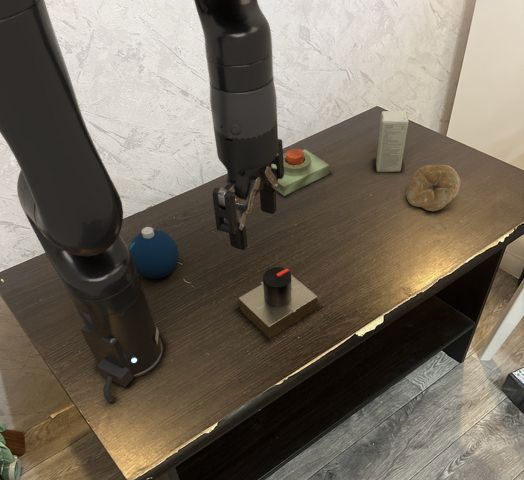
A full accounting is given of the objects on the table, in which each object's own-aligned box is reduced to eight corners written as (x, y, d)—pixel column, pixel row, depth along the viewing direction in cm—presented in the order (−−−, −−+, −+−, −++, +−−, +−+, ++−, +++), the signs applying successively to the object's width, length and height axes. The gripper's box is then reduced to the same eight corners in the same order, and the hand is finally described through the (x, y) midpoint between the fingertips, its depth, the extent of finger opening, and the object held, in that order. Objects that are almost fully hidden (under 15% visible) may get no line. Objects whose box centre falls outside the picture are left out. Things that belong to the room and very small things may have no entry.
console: (270, 340, 79) (269, 327, 77) (238, 309, 84) (237, 296, 81) (318, 310, 83) (318, 296, 80) (285, 282, 87) (284, 268, 85)
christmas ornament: (145, 253, 94) (132, 209, 86) (188, 259, 92) (178, 214, 84) (128, 285, 89) (112, 240, 81) (173, 291, 87) (161, 246, 79)
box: (399, 160, 108) (408, 110, 99) (400, 172, 106) (410, 121, 97) (374, 160, 109) (381, 110, 100) (375, 172, 106) (382, 121, 97)
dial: (275, 311, 79) (274, 289, 75) (258, 295, 81) (257, 274, 78) (296, 298, 81) (297, 276, 77) (279, 283, 83) (279, 261, 79)
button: (293, 168, 102) (293, 160, 101) (282, 160, 104) (282, 152, 103) (307, 161, 103) (307, 153, 102) (296, 154, 105) (296, 146, 104)
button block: (284, 196, 102) (283, 178, 99) (261, 178, 107) (260, 161, 103) (328, 174, 106) (329, 157, 103) (304, 158, 111) (305, 141, 107)
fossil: (416, 160, 98) (467, 165, 92) (423, 168, 102) (472, 174, 96) (400, 204, 99) (449, 213, 93) (407, 211, 103) (455, 220, 97)
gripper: (247, 85, 63) (255, 194, 76) (184, 141, 56) (205, 252, 69) (300, 96, 61) (300, 207, 74) (242, 156, 53) (253, 268, 66)
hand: (254, 229), depth 71 cm, fingers open, 8 cm apart
